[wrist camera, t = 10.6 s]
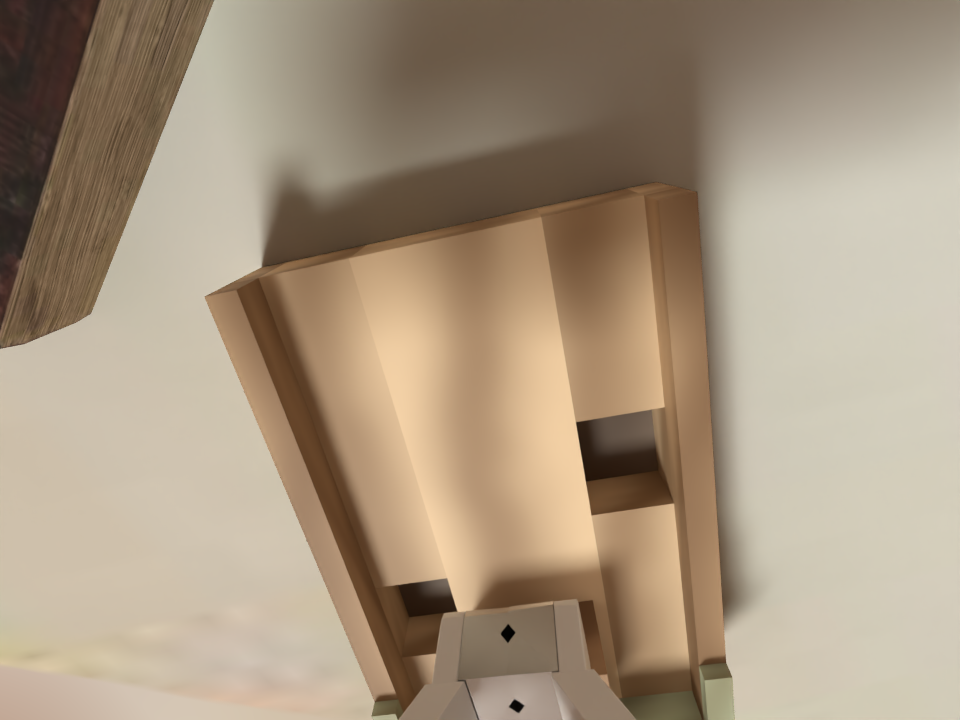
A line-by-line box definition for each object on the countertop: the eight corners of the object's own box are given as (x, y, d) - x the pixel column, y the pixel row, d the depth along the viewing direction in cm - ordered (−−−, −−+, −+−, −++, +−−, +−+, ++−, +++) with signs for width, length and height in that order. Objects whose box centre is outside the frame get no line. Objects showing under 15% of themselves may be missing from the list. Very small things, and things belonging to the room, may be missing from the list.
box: (656, 182, 17) (719, 197, 12) (698, 654, 25) (746, 780, 20) (261, 267, 19) (175, 312, 14) (417, 686, 27) (397, 810, 22)
